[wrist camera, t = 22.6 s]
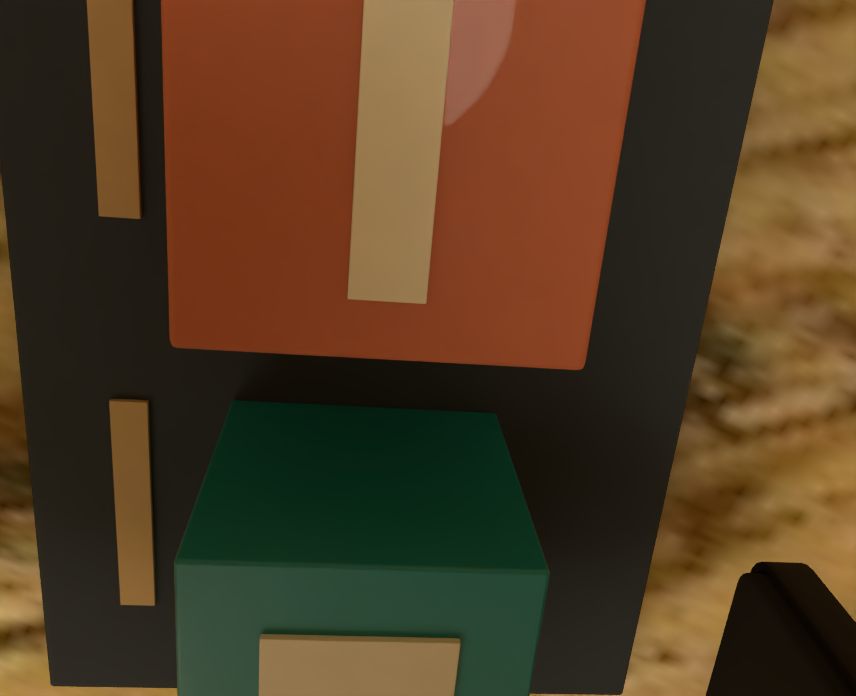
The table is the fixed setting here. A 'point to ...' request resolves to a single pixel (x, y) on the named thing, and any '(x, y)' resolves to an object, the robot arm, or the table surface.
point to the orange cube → (393, 174)
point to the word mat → (325, 375)
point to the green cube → (358, 558)
